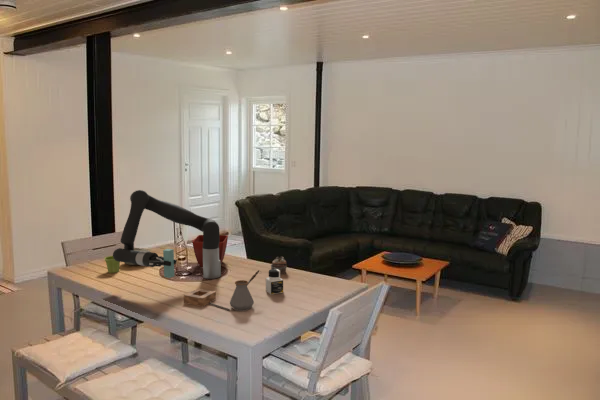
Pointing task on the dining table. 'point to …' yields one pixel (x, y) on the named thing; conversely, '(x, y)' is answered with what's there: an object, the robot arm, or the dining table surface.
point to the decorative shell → (137, 250)
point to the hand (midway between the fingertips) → (173, 262)
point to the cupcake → (279, 265)
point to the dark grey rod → (219, 306)
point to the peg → (169, 256)
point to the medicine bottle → (274, 282)
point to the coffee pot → (242, 295)
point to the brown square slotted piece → (199, 297)
